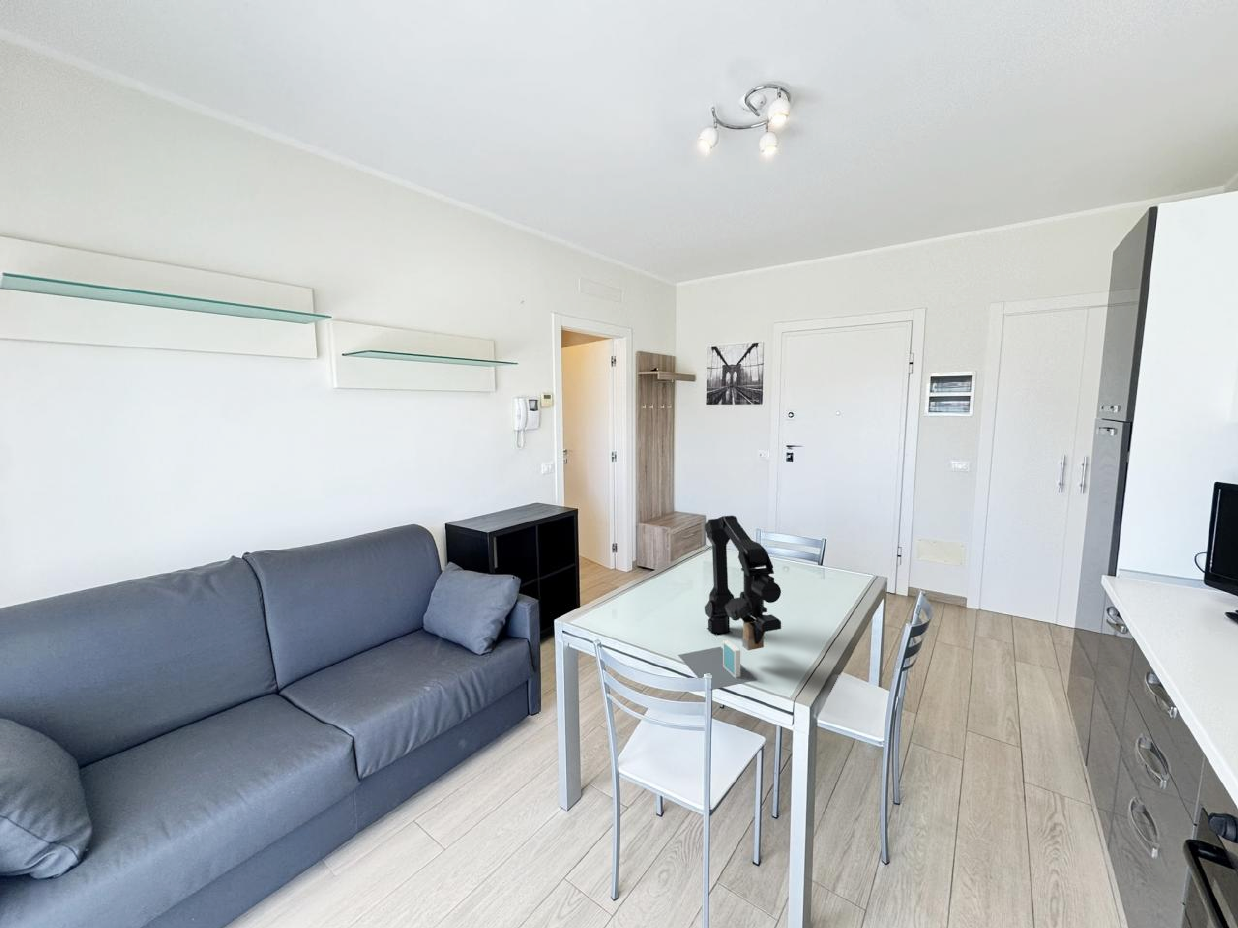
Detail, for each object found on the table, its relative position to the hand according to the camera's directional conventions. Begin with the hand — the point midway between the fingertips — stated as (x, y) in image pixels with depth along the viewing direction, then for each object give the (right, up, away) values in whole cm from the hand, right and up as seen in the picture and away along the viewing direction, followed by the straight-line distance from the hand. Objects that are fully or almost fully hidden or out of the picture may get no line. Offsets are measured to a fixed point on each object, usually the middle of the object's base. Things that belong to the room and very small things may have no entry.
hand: (753, 641), depth 146 cm
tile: (-7, -8, -2) cm, 11 cm away
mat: (-11, -8, +1) cm, 14 cm away
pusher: (0, -2, 0) cm, 2 cm away
